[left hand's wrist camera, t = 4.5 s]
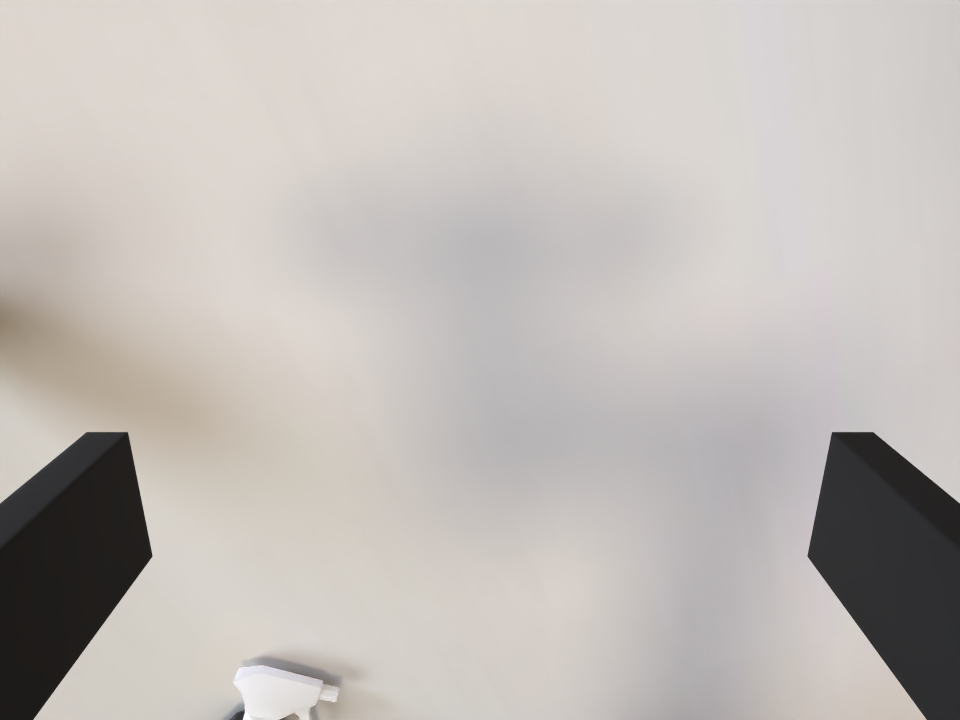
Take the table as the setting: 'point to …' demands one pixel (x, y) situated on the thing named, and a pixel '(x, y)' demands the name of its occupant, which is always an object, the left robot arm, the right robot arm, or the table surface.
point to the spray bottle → (279, 693)
